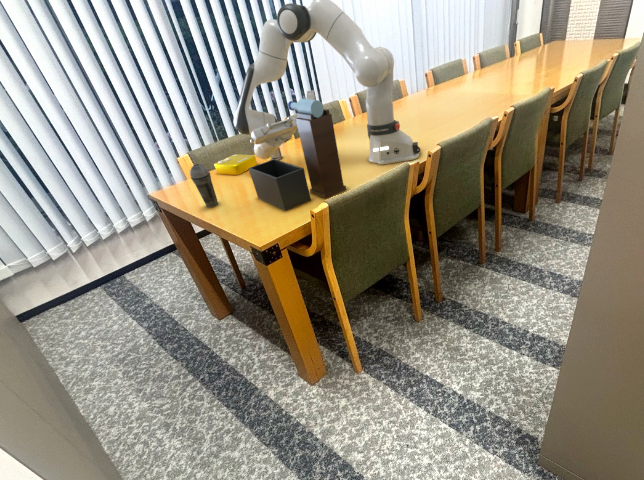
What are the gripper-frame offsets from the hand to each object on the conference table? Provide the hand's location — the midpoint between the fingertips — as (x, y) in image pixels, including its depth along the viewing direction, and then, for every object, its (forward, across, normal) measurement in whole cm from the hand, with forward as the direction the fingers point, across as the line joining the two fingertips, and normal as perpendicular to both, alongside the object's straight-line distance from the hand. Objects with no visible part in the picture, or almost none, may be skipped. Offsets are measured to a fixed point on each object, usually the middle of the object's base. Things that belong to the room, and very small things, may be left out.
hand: (280, 121), depth 152 cm
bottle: (+20, 0, +7) cm, 21 cm away
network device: (-53, +46, -5) cm, 71 cm away
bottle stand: (+10, 0, +32) cm, 33 cm away
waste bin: (+2, -15, +27) cm, 31 cm away
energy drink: (-41, +11, +2) cm, 43 cm away
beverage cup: (-17, -35, +16) cm, 42 cm away
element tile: (-46, -8, -1) cm, 47 cm away
